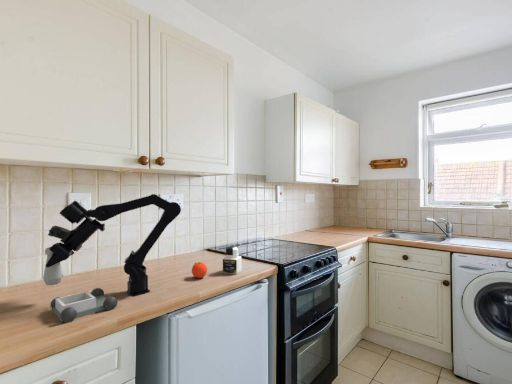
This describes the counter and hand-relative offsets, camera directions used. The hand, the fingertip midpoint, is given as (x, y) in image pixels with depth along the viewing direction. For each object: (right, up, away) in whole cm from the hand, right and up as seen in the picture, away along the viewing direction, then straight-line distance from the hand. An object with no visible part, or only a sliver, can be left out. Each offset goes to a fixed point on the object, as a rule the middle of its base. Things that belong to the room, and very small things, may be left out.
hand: (48, 265), depth 101 cm
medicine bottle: (+63, -13, +36) cm, 73 cm away
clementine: (+48, -13, +28) cm, 57 cm away
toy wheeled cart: (+17, -13, -6) cm, 22 cm away
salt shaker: (+1, -7, 0) cm, 7 cm away
